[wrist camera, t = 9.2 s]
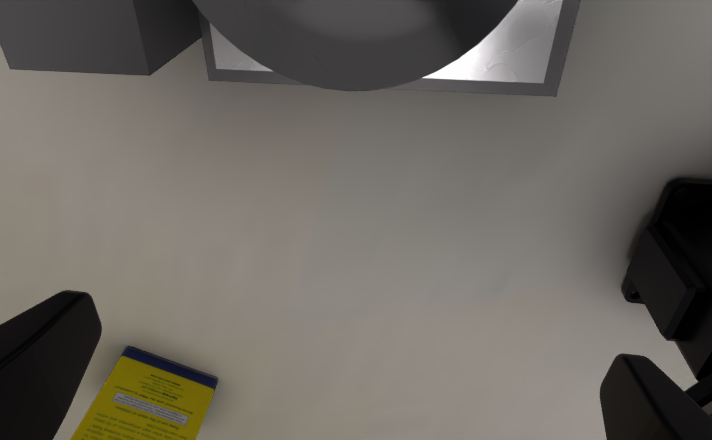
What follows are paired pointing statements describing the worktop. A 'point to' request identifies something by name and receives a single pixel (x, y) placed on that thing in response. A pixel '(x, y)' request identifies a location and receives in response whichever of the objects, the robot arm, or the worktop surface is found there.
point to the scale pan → (484, 62)
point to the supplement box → (148, 401)
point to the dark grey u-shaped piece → (184, 43)
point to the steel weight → (355, 36)
